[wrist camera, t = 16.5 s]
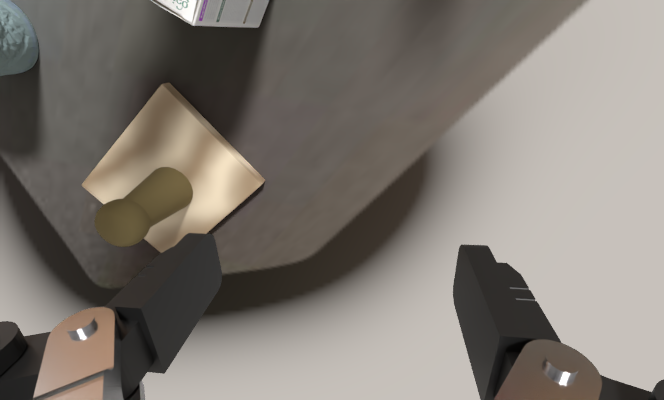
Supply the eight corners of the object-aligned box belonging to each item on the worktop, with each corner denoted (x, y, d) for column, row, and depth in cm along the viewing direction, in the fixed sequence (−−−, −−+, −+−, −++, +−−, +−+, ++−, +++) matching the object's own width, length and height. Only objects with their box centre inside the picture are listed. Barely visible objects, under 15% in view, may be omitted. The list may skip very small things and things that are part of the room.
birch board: (89, 181, 47) (81, 185, 46) (169, 82, 40) (161, 83, 38) (178, 257, 51) (172, 262, 50) (265, 180, 44) (261, 184, 42)
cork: (145, 164, 43) (76, 201, 33) (190, 169, 43) (133, 209, 33) (153, 206, 46) (91, 251, 36) (195, 211, 45) (144, 259, 36)
